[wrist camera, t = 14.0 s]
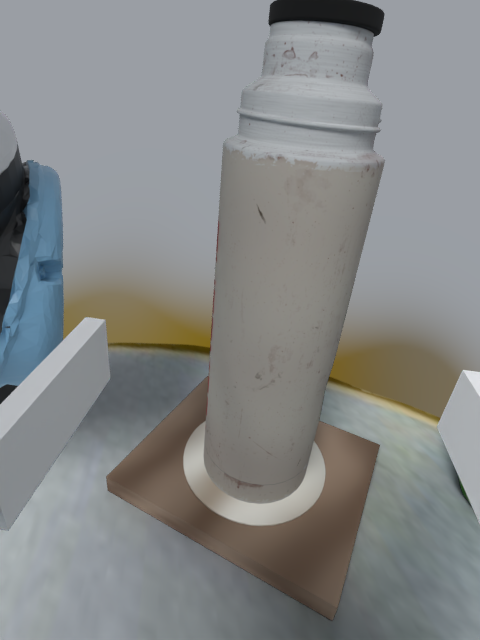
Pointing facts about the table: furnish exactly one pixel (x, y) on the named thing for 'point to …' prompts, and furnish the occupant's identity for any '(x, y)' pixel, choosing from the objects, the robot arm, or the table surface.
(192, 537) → the docking mat
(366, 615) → the table surface
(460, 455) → the robot arm
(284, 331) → the thermos bottle
